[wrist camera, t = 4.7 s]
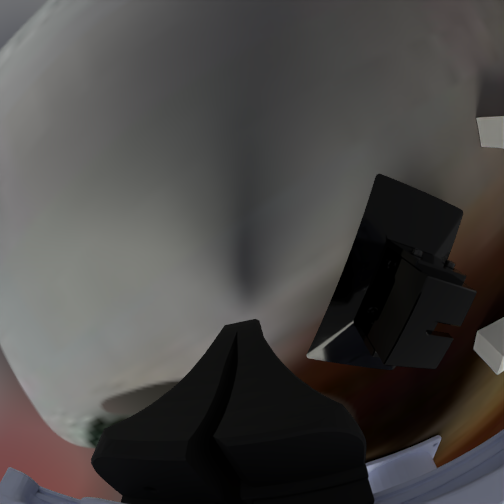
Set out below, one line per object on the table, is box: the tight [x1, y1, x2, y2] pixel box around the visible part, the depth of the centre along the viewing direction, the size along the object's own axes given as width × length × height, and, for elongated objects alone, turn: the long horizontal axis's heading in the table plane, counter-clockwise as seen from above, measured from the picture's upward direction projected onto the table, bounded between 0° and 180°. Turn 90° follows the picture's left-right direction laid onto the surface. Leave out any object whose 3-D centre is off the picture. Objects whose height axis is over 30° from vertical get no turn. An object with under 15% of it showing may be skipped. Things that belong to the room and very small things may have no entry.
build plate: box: [307, 174, 477, 370], centre depth 11 cm, size 12×7×5 cm, turn 165°
